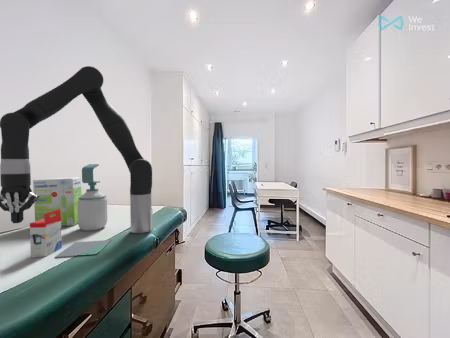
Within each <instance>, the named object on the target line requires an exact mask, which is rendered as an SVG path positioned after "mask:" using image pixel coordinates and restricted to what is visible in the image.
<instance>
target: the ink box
mask: <svg viewBox="0 0 450 338" xmlns="http://www.w3.org/2000/svg"><path fill="white" fill-rule="evenodd" d="M52 213H53V214H54V213H55V215H54V216H51V217H50V215H51V214H52ZM29 236H30V243H29V244H30V258H45V257H48V256H49V255H51V254H53V253H55V252H56V251H58V250H60V249H61V248H62V246H63V244H62V226H61V214H60V209H57V210H54V211H51V212H48V213H45V214H44V219H41V220H38V221H35V220H34V221H32V222H30V223H29Z"/></svg>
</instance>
